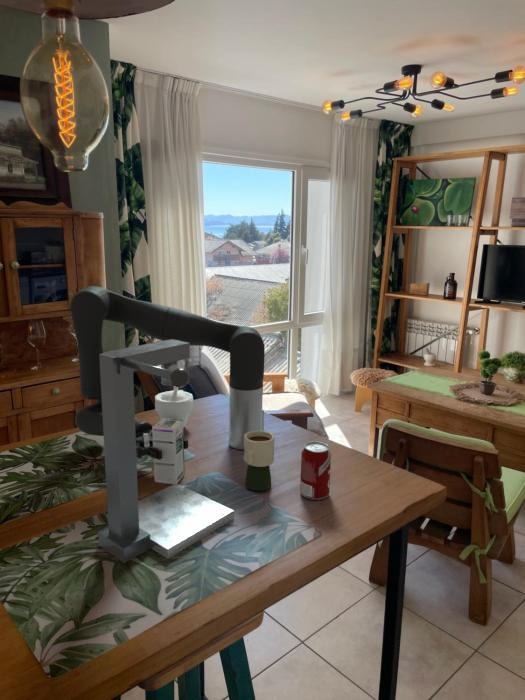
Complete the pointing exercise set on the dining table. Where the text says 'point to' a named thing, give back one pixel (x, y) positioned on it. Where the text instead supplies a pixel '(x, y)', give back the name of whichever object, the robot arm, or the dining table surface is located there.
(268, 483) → the character mug
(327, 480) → the soda can
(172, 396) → the mortar and pestle
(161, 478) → the syrup box
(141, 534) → the bench press
